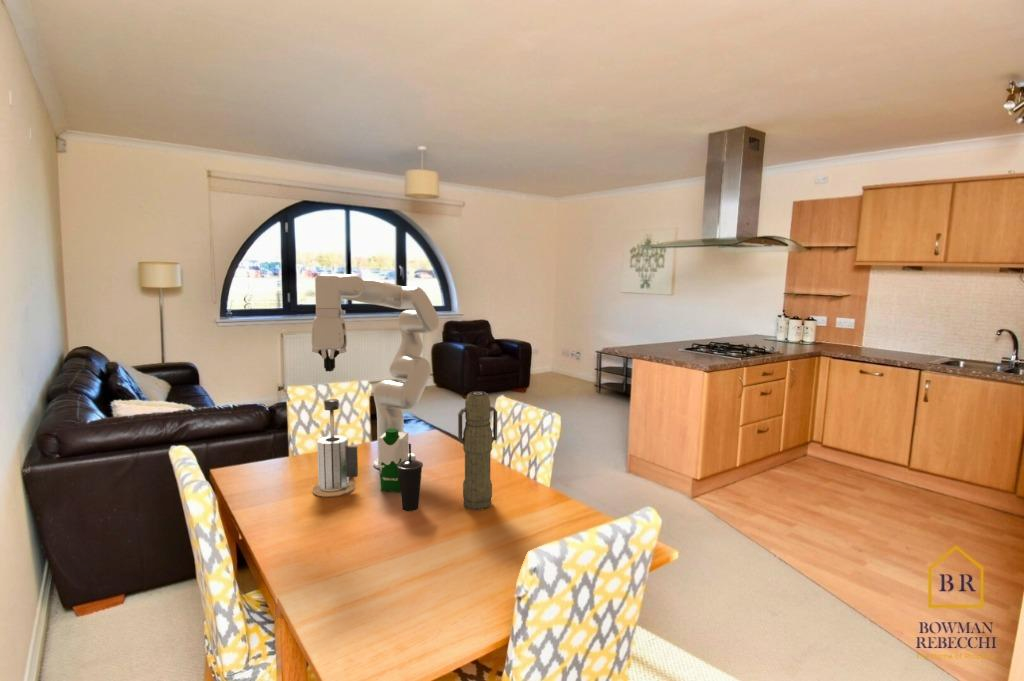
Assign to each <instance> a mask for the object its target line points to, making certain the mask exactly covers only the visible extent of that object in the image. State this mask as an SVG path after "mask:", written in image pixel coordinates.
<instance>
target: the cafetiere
mask: <svg viewBox="0 0 1024 681" xmlns="http://www.w3.org/2000/svg"><path fill="white" fill-rule="evenodd" d="M334 437H335V441H333V442H331V435H327V436H323V437H320V438H318V439H317V441H316V444H317V448H316V450H317V473H318V474H317V476H318V477H317V478H318V483H317V484H315V485H314V486H313V488H312V494H313V495H315V494H316V495H318V496H317V497H319V496H322V497H321V498H337V497H341V496H345V495H348V494H350V493H352V492H353V491H354V490H355V488H356V485H355V483H354V482H353V481H352V480H350V478H349V477H351V478H358V476H359V469H358V468H359V465H358V462H359V461H358V445H349V438H348V437H347V436H345V435H340V434H339V435H338V434H337V435H336V434H334ZM316 495H315V496H316Z"/></svg>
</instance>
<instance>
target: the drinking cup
mask: <svg viewBox="0 0 1024 681" xmlns="http://www.w3.org/2000/svg"><path fill="white" fill-rule="evenodd" d="M408 454H409V460H405V461H403V462H400V463H398V464H397V468H398V473H399V482H400V491H401V492H400V501H401V509H402V511H404V512H415V511H417V510H418V509H419V507H420V506H419V505H420V495H421V494H420V493H421V482H422V472H423V471H422V470H423V467H424V466H423V465H424V464H423V463H424V462H422V461H420V460H416V459H415V460H411V454H412V444H411V443H408Z"/></svg>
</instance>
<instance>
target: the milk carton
mask: <svg viewBox="0 0 1024 681" xmlns="http://www.w3.org/2000/svg"><path fill="white" fill-rule="evenodd" d="M409 434H410V432H408V431H404V432H398V430H397V429H388V430H386V433H384V434H383V435H382V436H381V437H380V438H379V446H380V469H379V474H380V475H379V479H380V480H379V481H380V491H381V492H394V493H395V492H396V493H397V492H398V493H401V491H400V482H399V473H398V468H397V464H398V463H400V462H403V461H405V460H408V454H409Z"/></svg>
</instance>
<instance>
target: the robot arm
mask: <svg viewBox="0 0 1024 681" xmlns="http://www.w3.org/2000/svg"><path fill="white" fill-rule="evenodd" d="M314 283H315V284H314V288H315V291H314V292H315V317H314V318H313V322H312V331H311V346H312V349H311V351H312V352H313V353H314V354H318V355H319V356H321V358H322V359H323V369H325V372H333V371H334V370H335V368H336V358H337V356H338V355H341V354H345V353H346V352H347V346H348V337H347V336H348V335H347V329H346V328H347V327H346V321H345V318H344V317H342V316H343V315H346V310H343V309H342V300H348V301H354V302H358V303H359V302H360V303H362V304H368V305H376V306H381V307H382V306H383V307H387V308H392V309H396V310H403V311H402V312H400V314H399V315H398V320H397V323H398V327H399V330H400V334H401V343H400V345H399V347H398V349H397V352H396V354H395V356H394V357H393V359H392V360H391V361H392V362H391V364H390V366H389V375H390V376H391V377H392V378H393V379H395V380H393V379H385V380H381V381H379V382H377V383H376V385H375V386H374V389H373V399H374V400H373V401H374V405H375V409H376V419H377V420H376V423H377V424H376V426H377V428H376V433H377V434H376V436H377V438H376V439H377V443H376V444H377V458H376V459H375V460H373V466H374V467H375V468H376V469H378V470H380V446H379V438H380V437H381V436H382V435H383V434H384V433H386V430H388V429H397V430H398V432H405V431H404V428H405V427H404V424H405V423H404V422H405V421H404V414H403V413H404V412H403V410H412V409H414V408H415V407H416V406H417V405H418V404H419V401H420V400H421V397H422V395H423V393H424V391H425V388H426V386H427V384H428V382H429V379H430V376H431V372H432V369H431V364H430V362H429V360H428V359H427V358H424V357H422V356H421V354H422V353H423V348H424V345H423V340H422V338H421V335H420V334H432V333H435V332H437V330H438V329H439V326H440V318H439V315H438V313H437V311H436V309H435V307H434V305H433V303H432V301H431V300H430V298H429V297H428V294H427V292H425V291H424V289H422V287H420V286H419V287H418V286H403V285H399V284H393V283H390V282H386V281H381V280H375V279H363V278H362V277H360V276H359V275H356V274H350V273H349V274H347V273H346V274H345V273H343V274H342V273H341V274H340V273H339V274H337V273H336V274H317V275H316V277H315V279H314ZM329 350H330V351H329ZM329 352H330V353H329ZM403 381H404V382H403ZM416 459H417V458H416V454H414V453H411V460H416ZM408 460H409V453H408Z"/></svg>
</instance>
